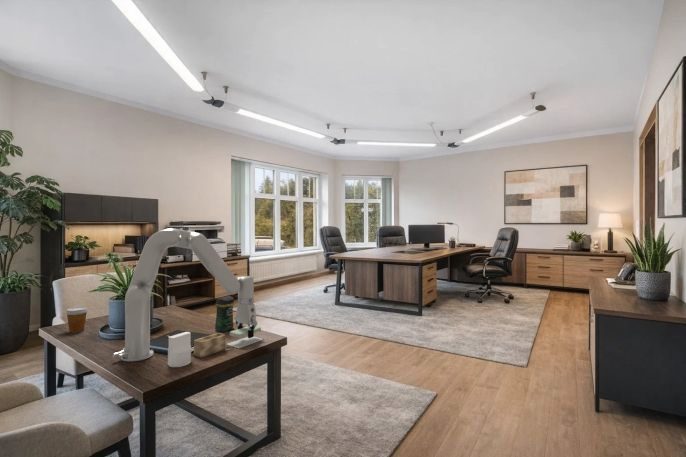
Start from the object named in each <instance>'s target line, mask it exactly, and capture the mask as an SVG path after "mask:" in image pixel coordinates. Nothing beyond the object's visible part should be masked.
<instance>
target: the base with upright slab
mask: <svg viewBox="0 0 686 457" xmlns="http://www.w3.org/2000/svg"><path fill="white" fill-rule="evenodd" d="M191 333H192V332H190V331H185V332H180V333H177V334H173V335H171V336H168V349H167V366H168V367H170V368H181V367H184V366H187V365H190V364H191V363H192V346H191V344H192V343H191V339H192V338H191Z"/></svg>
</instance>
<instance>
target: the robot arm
mask: <svg viewBox="0 0 686 457" xmlns="http://www.w3.org/2000/svg"><path fill="white" fill-rule="evenodd" d="M173 247H177V248H182V249H189V250H191V251H192V252H193V254H194V255H195V256H196V258H197V259H198V260H199V262H201V264H202V265H203V266H204V267H205V270H206V271H207V272H208V273H210V274H211V275H212V277H213V278H214V279H215V280H216V281H217V282H218V284H220V286H221V288H222V289H223V290H224V291H225V292H226V294H228V295H235V294H237V305H236V313H235V314H236V315H235V316H234V317H233V321H235V325H236V328H237V329H241V328H244V326H243V325H247V326H248V328H249V330H248V335H247V337H248V338H252V337H255V336H254V335H255V333H254V329H255V327H256V326H258V321H257V313H256V312H257V311H256V305H255V303H254V301H255V300H254V298H255V297H254V296H255V295H254V291H255V290H254V288H255V286H254V284H255V280H254V277H253V276H251V275H242V276H235V275H234V273H233V272H232V271H231V269H230V268H229V266H228V265H227V264H226V263H225V261H224V259H223V258H222V257H221V256H220V254H219V253H218V252H217V250H216V249H215V247H214V246H213V245H212V244H211V242H210V241H209V239H207V237H206V236H205V235H204V234H202V233H200V232H197V231H196V232H195V231H189V230H183V229H179V228H174V227H169V228H165V229H161V230H158V231H156V232H155V233H153V234H152V235H150V236H149V238H148V239H147V240H146V242H145V243H144V245H143V248H142V251H141V253H140V256H139V259H138V262H137V264H136V266H135V268H134V271H133V275H132V278H131V281H130V283H129V285H128V289H127V290H126V292H125V295H124V296H125V297H124V312H125V313H124V314H125V315H124V316H125V317H124V326H125V327H124V328H125V329H124V331H125V332H124V347H122V350H120V351H118V352H114V353H112V358H113V359H114V358H115V359H116V358H119V359H120V360H121V361H123V362H138V361H144V360H147V359H149V358H151V357H152V356H154V354H155V352H154V350H153V349H151V348H150V346H151V339H150V338H151V295H152V290H153V287H154V284H155V282H156V278H157V276H158V274H159V268H160V265H161V261H162V259H163V257H164V254H165V252H166V251H167V249H168V248H173ZM250 325H251V326H250ZM150 349H151V350H150Z"/></svg>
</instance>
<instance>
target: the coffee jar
mask: <svg viewBox="0 0 686 457" xmlns="http://www.w3.org/2000/svg"><path fill="white" fill-rule="evenodd" d="M215 300H216V301H215V306H216V307H215V308H216V317H215V325H214V330H215V331H216V332H217V333H220V332H221V333H222V332H223V333H224V332H229V331H232V330H233V329H234V312H233V311H234V304H235V298H234V296H230V295H226V296H221V297H217V298H216V299H215Z"/></svg>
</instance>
